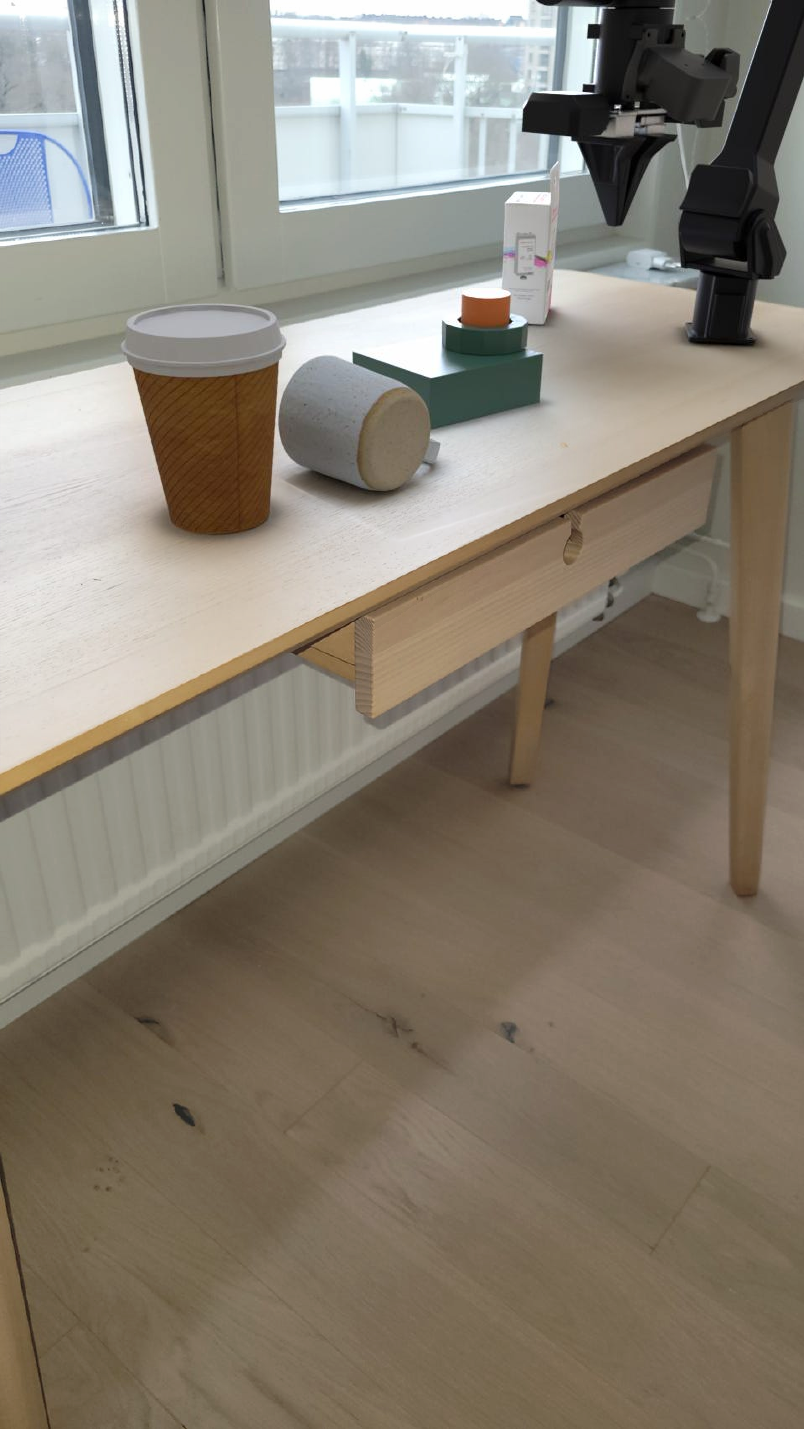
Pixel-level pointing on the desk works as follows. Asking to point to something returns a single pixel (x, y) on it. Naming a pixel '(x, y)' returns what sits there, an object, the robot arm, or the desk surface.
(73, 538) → the desk surface
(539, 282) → the ink cartridge box
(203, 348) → the disposable coffee cup
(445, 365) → the green button base
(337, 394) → the ceramic mug
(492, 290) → the orange squat cylinder
